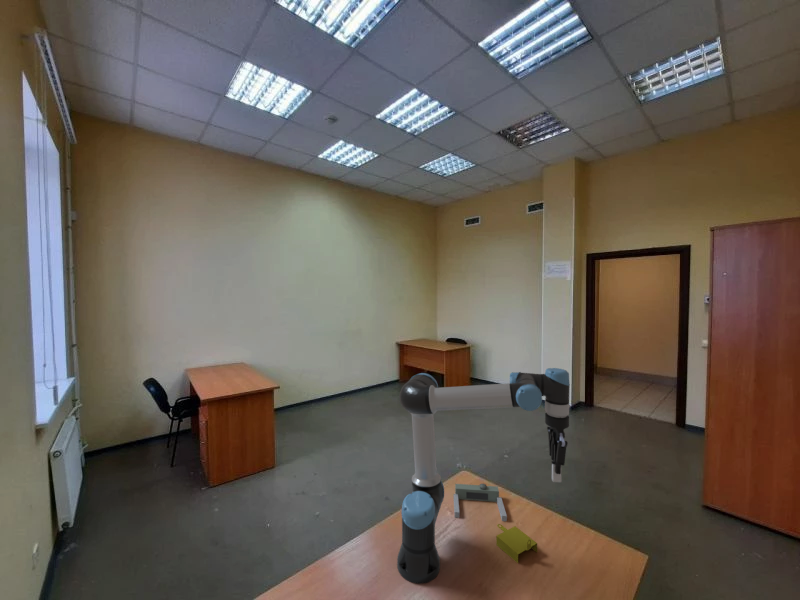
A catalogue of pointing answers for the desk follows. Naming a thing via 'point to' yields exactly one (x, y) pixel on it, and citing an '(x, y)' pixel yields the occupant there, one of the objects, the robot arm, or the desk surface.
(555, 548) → the desk surface
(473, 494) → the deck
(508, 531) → the bracket
